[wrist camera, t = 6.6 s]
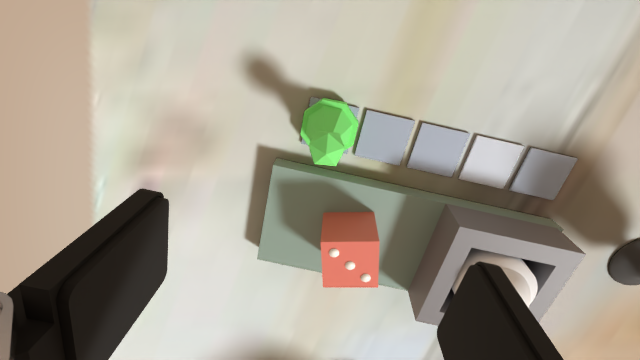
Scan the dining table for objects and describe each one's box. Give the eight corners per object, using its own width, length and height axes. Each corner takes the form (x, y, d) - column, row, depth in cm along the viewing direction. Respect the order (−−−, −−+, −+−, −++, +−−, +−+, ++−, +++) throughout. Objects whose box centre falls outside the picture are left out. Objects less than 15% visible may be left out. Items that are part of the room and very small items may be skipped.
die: (323, 212, 26) (320, 242, 22) (374, 211, 26) (379, 242, 22) (325, 253, 28) (323, 287, 24) (373, 253, 28) (378, 288, 24)
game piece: (370, 118, 24) (378, 144, 19) (337, 163, 26) (336, 199, 20) (320, 85, 23) (315, 102, 18) (290, 134, 25) (276, 162, 20)
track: (310, 96, 24) (310, 97, 24) (576, 158, 25) (577, 158, 25) (301, 142, 25) (301, 143, 25) (551, 199, 26) (553, 200, 26)
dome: (461, 231, 25) (487, 273, 21) (531, 247, 26) (570, 291, 21) (435, 286, 28) (453, 334, 23) (499, 300, 28) (529, 350, 23)
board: (276, 158, 26) (263, 183, 22) (551, 219, 27) (592, 255, 23) (260, 248, 30) (247, 285, 25) (503, 300, 31) (530, 344, 26)
